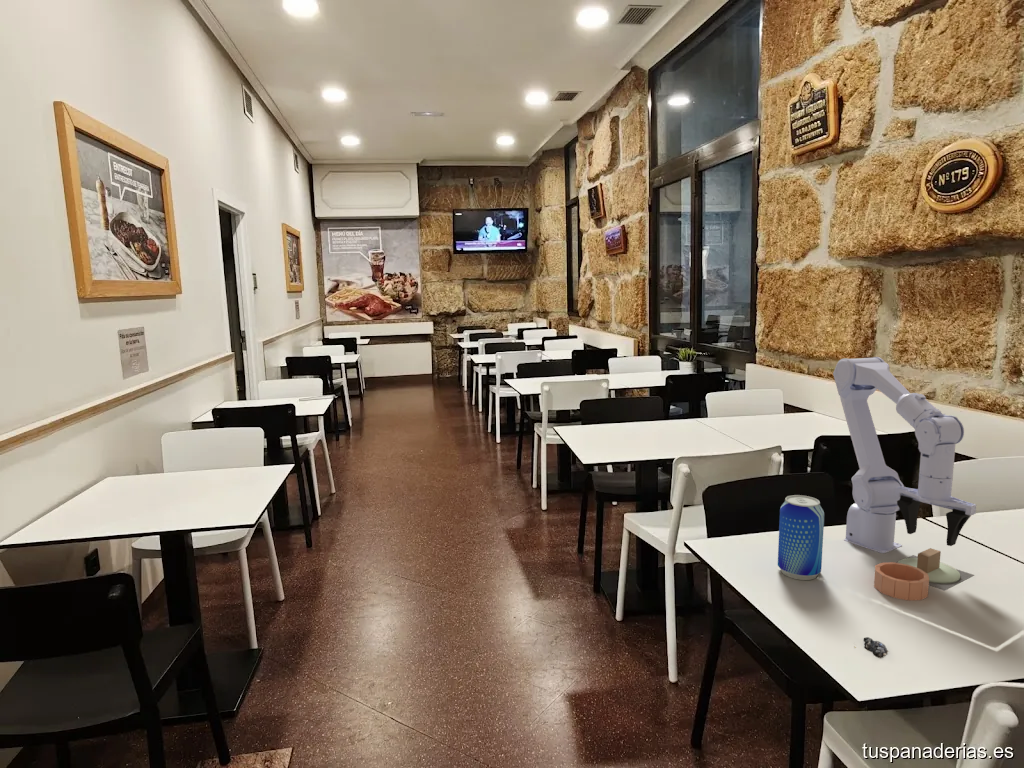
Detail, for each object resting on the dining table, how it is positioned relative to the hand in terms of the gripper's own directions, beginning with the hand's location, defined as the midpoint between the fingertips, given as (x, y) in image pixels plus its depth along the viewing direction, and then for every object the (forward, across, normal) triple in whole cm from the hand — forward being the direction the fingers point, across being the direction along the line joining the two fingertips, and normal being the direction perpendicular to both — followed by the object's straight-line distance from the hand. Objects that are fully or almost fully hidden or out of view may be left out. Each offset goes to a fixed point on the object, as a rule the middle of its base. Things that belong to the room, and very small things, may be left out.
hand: (930, 538), depth 133 cm
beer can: (+8, -15, -22) cm, 27 cm away
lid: (+7, 0, 0) cm, 7 cm away
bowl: (+8, +1, -12) cm, 15 cm away
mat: (+8, 0, 0) cm, 8 cm away
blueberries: (+8, +9, -36) cm, 39 cm away
